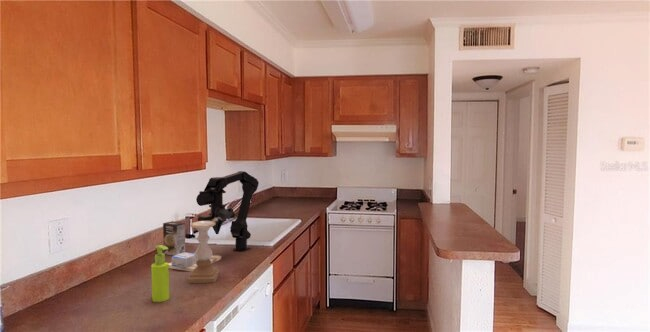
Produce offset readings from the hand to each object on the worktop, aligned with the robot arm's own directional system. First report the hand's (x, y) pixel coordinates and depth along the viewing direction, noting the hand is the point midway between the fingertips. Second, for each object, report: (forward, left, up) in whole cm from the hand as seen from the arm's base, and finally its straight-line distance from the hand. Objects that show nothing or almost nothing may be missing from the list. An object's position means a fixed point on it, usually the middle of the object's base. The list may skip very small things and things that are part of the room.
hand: (217, 234), depth 190 cm
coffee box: (+2, -25, -12) cm, 28 cm away
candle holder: (+26, +12, -12) cm, 31 cm away
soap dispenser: (+49, +11, -12) cm, 52 cm away
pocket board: (+11, -5, -12) cm, 17 cm away
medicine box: (+13, -5, -8) cm, 17 cm away
